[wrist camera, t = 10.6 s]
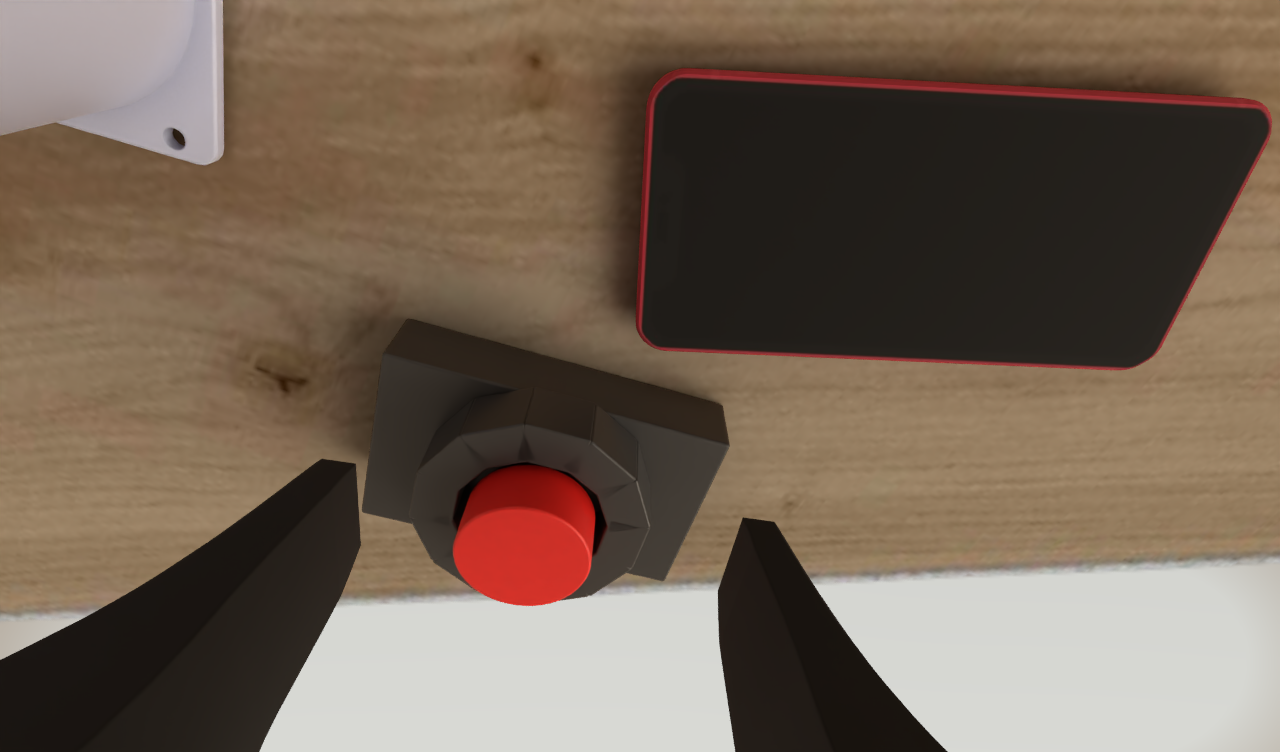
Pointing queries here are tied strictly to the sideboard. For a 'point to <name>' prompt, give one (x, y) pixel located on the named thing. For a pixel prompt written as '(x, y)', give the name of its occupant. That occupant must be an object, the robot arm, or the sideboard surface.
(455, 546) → the light button
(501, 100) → the sideboard surface
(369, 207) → the sideboard surface
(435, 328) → the light switch
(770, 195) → the smartphone
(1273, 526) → the sideboard surface
